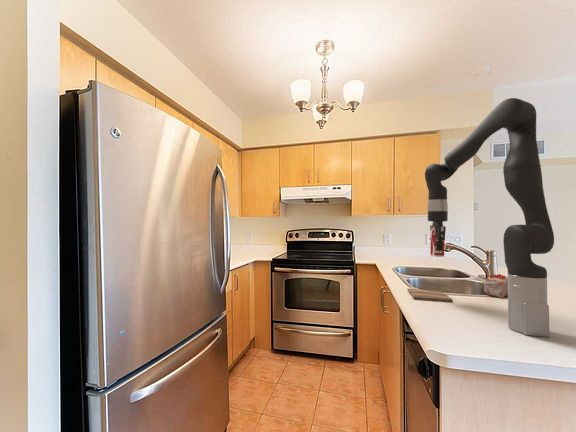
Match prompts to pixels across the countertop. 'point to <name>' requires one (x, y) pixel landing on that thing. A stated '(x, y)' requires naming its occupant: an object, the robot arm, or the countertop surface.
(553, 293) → the countertop surface
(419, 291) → the walnut board
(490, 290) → the food item
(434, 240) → the soda can
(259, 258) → the countertop surface
